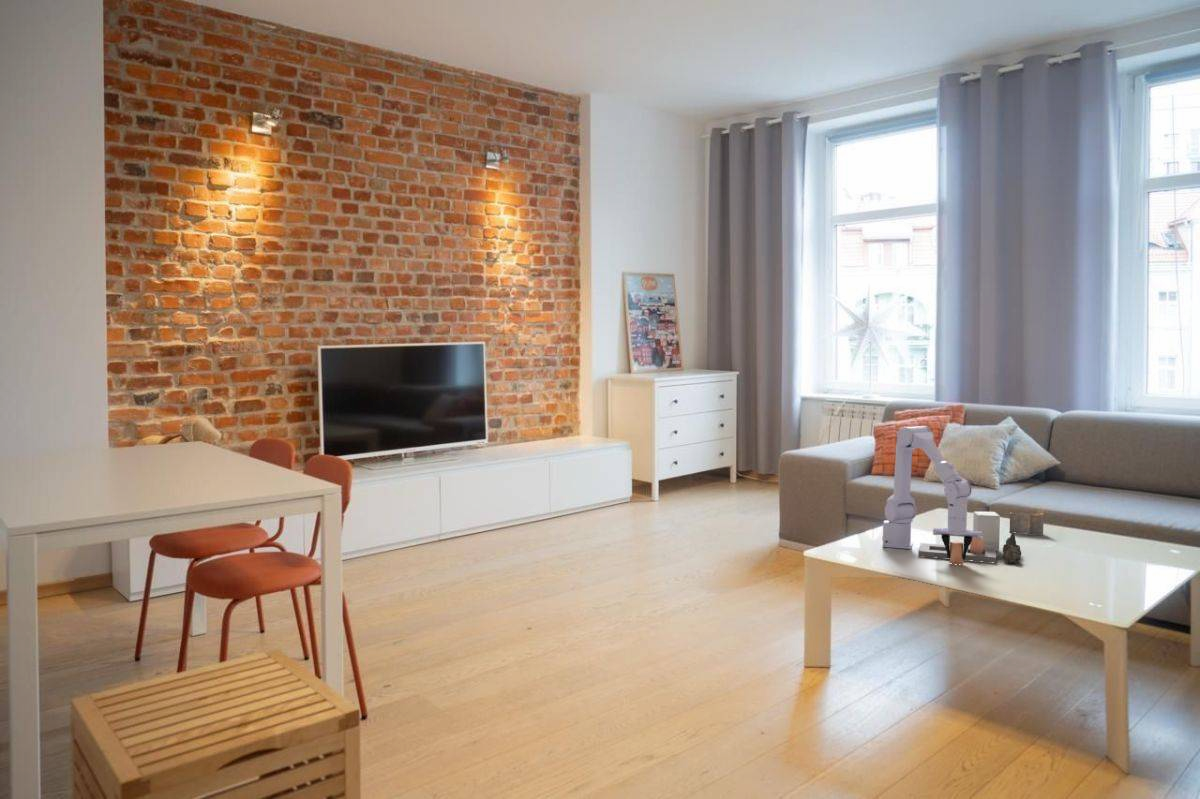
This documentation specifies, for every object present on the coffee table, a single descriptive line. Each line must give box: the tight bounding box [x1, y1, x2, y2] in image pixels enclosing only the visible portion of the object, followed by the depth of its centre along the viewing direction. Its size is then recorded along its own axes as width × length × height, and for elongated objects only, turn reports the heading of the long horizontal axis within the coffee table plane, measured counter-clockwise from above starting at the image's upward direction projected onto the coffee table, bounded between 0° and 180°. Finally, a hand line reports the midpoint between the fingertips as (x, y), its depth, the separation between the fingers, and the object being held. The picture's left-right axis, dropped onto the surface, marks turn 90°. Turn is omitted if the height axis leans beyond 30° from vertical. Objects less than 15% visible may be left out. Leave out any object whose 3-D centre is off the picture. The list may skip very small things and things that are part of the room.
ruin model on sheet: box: [1009, 509, 1045, 536], centre depth 332 cm, size 11×3×10 cm, turn 63°
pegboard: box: [917, 542, 997, 564], centre depth 300 cm, size 24×12×2 cm, turn 67°
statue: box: [1001, 533, 1022, 565], centre depth 297 cm, size 6×6×20 cm
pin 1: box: [949, 541, 964, 566], centre depth 290 cm, size 4×4×7 cm
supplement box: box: [972, 511, 1001, 552], centre depth 309 cm, size 7×7×13 cm
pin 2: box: [969, 537, 983, 554], centre depth 297 cm, size 4×4×7 cm
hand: (956, 558), depth 290 cm, fingers closed on pin 1, 4 cm apart
